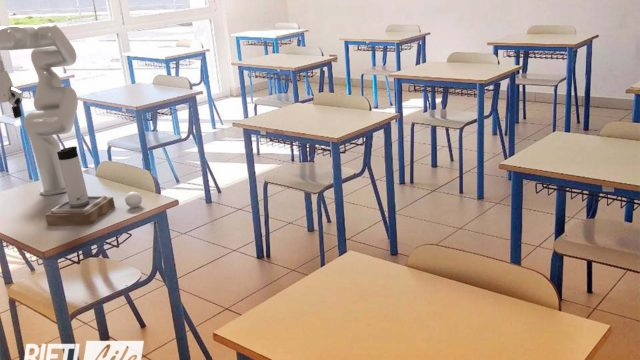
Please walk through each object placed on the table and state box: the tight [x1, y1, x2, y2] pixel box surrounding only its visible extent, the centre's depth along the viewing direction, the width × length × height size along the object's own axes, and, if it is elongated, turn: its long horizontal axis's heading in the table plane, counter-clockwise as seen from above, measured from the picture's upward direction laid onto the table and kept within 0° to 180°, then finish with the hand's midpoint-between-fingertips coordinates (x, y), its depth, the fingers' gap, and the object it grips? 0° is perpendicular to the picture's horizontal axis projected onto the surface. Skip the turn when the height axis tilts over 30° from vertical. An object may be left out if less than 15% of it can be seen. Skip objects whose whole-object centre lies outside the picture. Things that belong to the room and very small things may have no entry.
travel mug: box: [57, 145, 89, 207], centre depth 215 cm, size 6×7×20 cm
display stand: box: [44, 195, 116, 227], centre depth 218 cm, size 16×16×5 cm
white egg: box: [124, 191, 143, 209], centre depth 223 cm, size 8×6×6 cm
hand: (5, 117), depth 219 cm, fingers open, 9 cm apart
